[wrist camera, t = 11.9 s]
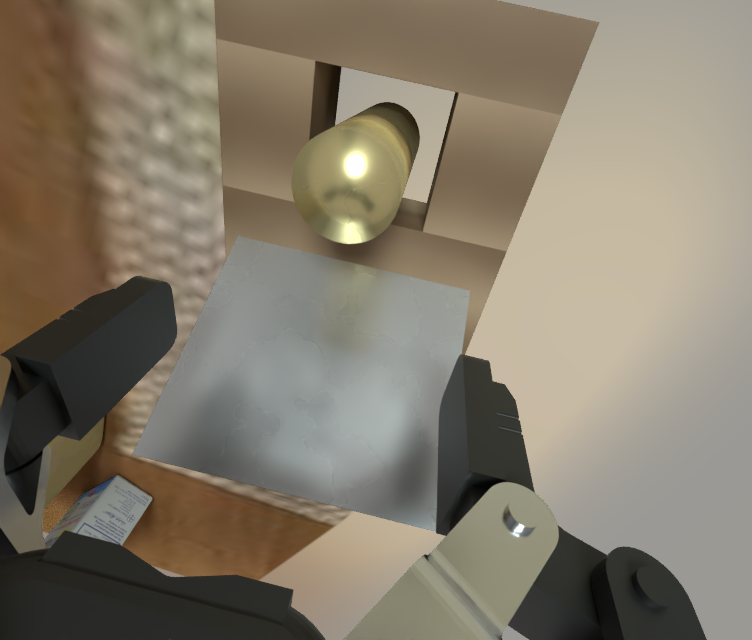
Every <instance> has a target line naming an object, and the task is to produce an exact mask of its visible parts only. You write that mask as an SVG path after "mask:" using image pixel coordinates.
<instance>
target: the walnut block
mask: <svg viewBox="0 0 752 640" xmlns="http://www.w3.org/2000/svg"><path fill="white" fill-rule="evenodd" d="M215 23H216V45H217V68H218V90H219V113H220V135H221V158H222V180H223V203H224V226H225V248H226V260H227V258H228V256H229V254H230V252H231V250H232V247H233V245H234V243H235V241H236V239H237V237H238V236H241V237H245V238H249V239H253V240H258V241H262V242H266V243H270V244H275V245H279V246H283V247H287V248H291V249H296V250H300V251H304V252H308V253H313V254H317V255H321V256H325V257H330V258H334V259H338V260H342V261H347V262H351V263H355V264H359V265H364V266H368V267H372V268H376V269H380V270H385V271H389V272H393V273H397V274H402V275H406V276H410V277H414V278H419V279H423V280H427V281H431V282H436V283H440V284H444V285H448V286H453V287H457V288H461V289H465V290H469V291H470V297H469V304H468V312H467V319H466V326H465V334H464V341H463V348H462V355H465V352H466V350H467V348H468V345H469V343H470V340H471V338H472V336H473V333H474V331H475V328H476V326H477V323H478V321H479V318H480V316H481V313H482V311H483V308H484V306H485V303H486V301H487V299H488V296H489V293H490V291H491V289H492V286H493V284H494V281H495V279H496V276H497V274H498V271H499V268H500V266H501V264H502V261H503V259H504V257H505V254H506V252H507V249H508V246H509V244H510V242H511V239H512V237H513V234H514V232H515V229H516V227H517V224H518V222H519V220H520V217H521V215H522V212H523V210H524V207H525V205H526V202H527V200H528V197H529V195H530V192H531V190H532V187H533V185H534V183H535V180H536V178H537V175H538V173H539V170H540V168H541V165H542V163H543V160H544V158H545V155H546V153H547V150H548V148H549V146H550V143H551V141H552V138H553V136H554V133H555V130H556V128H557V126H558V123H559V121H560V118H561V116H562V113H563V111H564V108H565V106H566V103H567V101H568V98H569V96H570V94H571V91H572V88H573V86H574V84H575V81H576V79H577V76H578V74H579V71H580V69H581V67H582V64H583V61H584V59H585V57H586V54H587V52H588V49H589V47H590V44H591V42H592V39H593V37H594V34H595V32H596V29H597V27H598V25H599V22H595V21H590V20H586V19H581V18H576V17H572V16H567V15H562V14H557V13H553V12H548V11H543V10H539V9H535V8H529V7H525V6H520V5H515V4H511V3H507V2H502V1H497V0H215ZM341 66H342V67H346V68H351V69H355V70H360V71H364V72H369V73H373V74H378V75H382V76H387V77H391V78H396V79H401V80H405V81H409V82H414V83H419V84H423V85H427V86H432V87H436V88H441V89H446V90H450V91H454V92H455V96H454V100H453V104H452V108H451V112H450V116H449V120H448V123H447V127H446V131H445V135H444V139H443V143H442V147H441V151H440V154H439V158H438V162H437V166H436V170H435V174H434V178H433V182H432V186H431V189H430V193H429V197H428V201H427V203H424V202H419V201H415V200H410V199H406V198H402V199H401V202H400V205H399V208H398V211H397V213H396V215H395V218H394V219H393V221H392V222H391V224H390V225H389V226H388V227H387V229H386V230H384V231H383V232H382V233H381V234H380V235H378V236H377V237H375V238H373V239H371V240H368V241H366V242H362V243H356V244H344V243H339V242H335V241H332V240H329V239H327V238H325V237H323V236H322V235H320V234H318V233H317V232H316V231H314V230H313V229H312V228H311V227H310V226H309V225H308V224H307V223H306V222H305V220H304V219H303V218H302V216H301V215H300V213H299V211H298V209H297V207H296V204H295V202H294V199H293V195H292V188H291V175H292V169H293V165H294V162H295V160H296V157H297V156H298V154H299V152H300V150H301V149H302V148H303V147H304V145H305V144H306V143H307V142H309V141H310V140H311V139H312V138H314V137H315V136H317V135H319V134H321V133H322V132H324V131H326V130H328V129H330V128H332V127H334V126H335V120H336V111H337V101H338V92H339V83H340V74H341Z"/></svg>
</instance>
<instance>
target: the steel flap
mask: <svg viewBox="0 0 752 640" xmlns="http://www.w3.org/2000/svg"><path fill="white" fill-rule="evenodd" d="M469 297H470V291H469V290H465V289H461V288H457V287H453V286H448V285H444V284H440V283H436V282H431V281H427V280H423V279H419V278H414V277H410V276H406V275H402V274H397V273H393V272H389V271H385V270H380V269H376V268H372V267H368V266H364V265H359V264H355V263H351V262H347V261H342V260H338V259H334V258H330V257H325V256H321V255H317V254H313V253H308V252H304V251H300V250H296V249H291V248H287V247H283V246H279V245H275V244H270V243H266V242H262V241H258V240H253V239H249V238H245V237H241V236H238V237H237V239H236V241H235V243H234V245H233V247H232V250H231V252H230V254H229V256H228V258H227V260H226V262H225V264H224V266H223V268H222V270H221V272H220V274H219V276H218V278H217V281H216V283H215V285H214V287H213V289H212V291H211V293H210V295H209V297H208V299H207V301H206V303H205V305H204V307H203V309H202V311H201V314H200V316H199V318H198V320H197V322H196V324H195V326H194V328H193V330H192V332H191V334H190V336H189V338H188V340H187V342H186V345H185V347H184V349H183V351H182V353H181V355H180V357H179V359H178V361H177V363H176V365H175V367H174V369H173V371H172V373H171V376H170V378H169V380H168V382H167V384H166V386H165V388H164V390H163V392H162V394H161V396H160V398H159V400H158V402H157V404H156V407H155V409H154V411H153V413H152V415H151V417H150V419H149V421H148V423H147V425H146V427H145V429H144V431H143V433H142V435H141V438H140V440H139V442H138V444H137V446H136V448H135V450H134V452H133V454H132V455H135V456H139V457H143V458H147V459H151V460H155V461H159V462H163V463H167V464H171V465H175V466H179V467H183V468H187V469H191V470H195V471H198V472H202V473H206V474H210V475H214V476H218V477H222V478H226V479H230V480H234V481H238V482H242V483H246V484H250V485H254V486H258V487H262V488H265V489H269V490H273V491H277V492H281V493H285V494H289V495H293V496H297V497H301V498H305V499H309V500H313V501H317V502H321V503H325V504H328V505H332V506H336V507H340V508H344V509H348V510H352V511H356V512H360V513H364V514H368V515H372V516H376V517H380V518H384V519H388V520H392V521H396V522H399V523H403V524H408V525H411V526H415V527H419V528H423V529H427V530H431V531H435V532H436V517H437V474H438V431H439V411H440V405H441V401H442V397H443V394H444V392H445V389H446V387H447V384H448V381H449V379H450V376H451V374H452V371H453V369H454V366H455V364H456V361H457V359H458V357H459V355H460V354H462V348H463V341H464V334H465V326H466V319H467V312H468V304H469Z"/></svg>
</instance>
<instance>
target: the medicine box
mask: <svg viewBox="0 0 752 640" xmlns="http://www.w3.org/2000/svg"><path fill="white" fill-rule="evenodd" d="M152 499H153V498H152V497H151V496H150V495H149V494H147V493H146V492H145V491H143V490H142V489H140V488H139V487H137V486H136V485H134V484H133V483H131V482H129V481H128V480H126V479H125V478H123V477H122V476H121V475H116V476H115V477H113V478H111V479H109V480H107V481H105V482H104V483H102V484H100V485H98V486H97V487H95V488H93V489H91V490H89V491H87V492H86V493H84V494H82V495H81V496H80V498H79V499H78V500H77V501H76V502H75V503H74V505H73V506H72V507H71V508H70V509H69V510H68V512H67V513H66V514H65V515H64V516H63V518H62V519H61V520H60V521H59V522H58V524H57V525H56V526H55V527H54V528H53V530H52V531H51V532H50V533H49V534H48V536H47V537H46V538H45V539H44V541H45V546H46V548H50V547H51V546H52V545H53V544H54V543H55V541H56V540H57V539H58V538H59V537H60V535H61V534H62V533H63V532H64V530H66V531H70V532H74V533H77V534H81V535H85V536H89V537H93V538H97V539H100V540H104V541H108V542H112V543H116V544H120V545H121V546H122V545H123V543H124V542H125V540H126V539H127V537H128V536H129V534H130V533H131V531H132V530H133V528H134V527H135V525H136V524H137V522H138V521H139V519H140V518H141V516H142V515H143V513H144V512H145V510H146V509H147V507H148V505H149V504H150V502H151V501H152Z"/></svg>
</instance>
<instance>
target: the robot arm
mask: <svg viewBox="0 0 752 640" xmlns="http://www.w3.org/2000/svg"><path fill="white" fill-rule="evenodd" d="M176 335H177V324H176V317H175V309H174V302H173V295H172V289H171V286H170V285H169V284H168V283H167V282H163V281H159V280H155V279H150V278H146V277H142V276H135V277H133V278H131V279H130V280H128V281H127V282H125V283H124V284H122V285H121V286H119V287H118V288H116V289H112V290H109V291H106V292H103V293H100V294H97V295H94V296H91V297H90V298H88V299H87V300H85V301H84V302H82V303H81V304H79V305H77V306H76V307H74V310H70V311H68V312H66V313H65V314H63V315H62V316H60V319H59V320H57V319H56V320H54V321H52V322H51V323H49V324H48V325H46V326H45V327H43V328H41V329H40V330H38V331H37V332H35V333H34V334H32V335H31V336H29V337H27V338H26V339H24V340H23V341H21V342H20V343H18V344H16V345H15V346H13V347H12V348H10V349H9V350H7V351H6V352H4V353H2V354H1V355H0V640H325V638H324V637H323V635H322V634H321V633H320V632H319V631H318V629H317V628H316V627H315V626H314V625H313V624H312V623H311V622H310V621H309V620H308V619H307V618H306V617H305V616H304V615H303V614H301V613H300V612H298V611H297V610H295V609H294V608H292V607H291V603H292V596H293V590H292V589H288V588H284V587H281V586H276V585H273V584H269V583H265V582H261V581H258V580H254V579H250V578H246V577H242V576H238V575H223V576H195V577H169V576H166V575H164V574H162V573H161V572H159V571H158V570H156V569H155V568H154V567H152V566H151V565H149V564H148V563H146V562H145V561H143V560H142V559H141V558H139V557H138V556H136V555H135V554H133V553H132V552H130V551H129V550H127V549H126V548H124V547H123V546H121V545H120V544H116V543H112V542H108V541H104V540H100V539H97V538H93V537H89V536H85V535H81V534H77V533H74V532H70V531H66V530H64V532H63V533H62V534H61V535H60V537H59V538H58V539H57V540H56V541H55V543H54V544H53V545H52V546H51V547H50V548H46V546H45V541H44V537H43V528H42V523H43V514H44V506H45V498H46V490H47V482H48V474H49V466H50V458H51V449H50V446H49V443H50V442H51V441H52V440H53V439H54V438H55V437H57V436H62V437H66V438H70V439H74V440H78V441H80V440H81V439H82V438H83V437H84V436H85V435H86V434H87V433H88V432H89V431H90V430H91V429H92V428H93V427H94V426H95V425H96V424H97V423H98V422H99V421H100V420H101V419H102V418H103V417H104V416H105V415H106V414H107V413H108V412H109V411H110V410H111V409H112V408H113V407H114V406H115V405H116V404H117V403H118V402H119V401H120V400H121V399H122V398H123V397H124V396H125V395H126V394H127V393H128V392H129V391H130V390H131V389H132V388H133V387H134V386H135V385H136V384H137V383H138V382H139V381H140V380H141V378H142V377H143V376H144V375H145V374H146V373H147V372H148V371H149V370H150V369H151V368H152V367H153V366H154V365H155V364H156V363H157V362H158V361H159V360H160V359H161V358H162V357H163V356H164V355H165V354H166V353H167V352H168V351H169V350H170V349H171V347H172V346H173V344H174V342H175V339H176ZM518 418H519V416H518V411H517V406H516V401H515V399H514V398H513V396H512V395H511V393H510V392H509V390H508V389H507V387H506V386H505V385H504V384H500V383H497V382H493V381H492V375H491V369H490V363H489V361H487V360H483V359H479V358H475V357H470V356H467V355H462V354H460V355H459V357H458V359H457V361H456V364H455V366H454V369H453V371H452V374H451V376H450V379H449V381H448V384H447V387H446V389H445V392H444V394H443V397H442V401H441V405H440V411H439V431H438V474H437V517H436V533H437V534H441V535H445V536H446V537H445V538H444V539H443V540H442V542H440V544H439V545H438V546H437V547H436V548H435V549H434V550H433V551H432V552H431V553H430V554H429V555H424V556H422V557H421V558H420V559H418V560H417V561H416V562H415V563H414V564H413V565H412V566H411V567H410V568H409V570H408V571H407V572H406V573H405V574H404V575H403V576H402V577H401V578H400V579H399V580H398V581H397V582H396V583H395V585H394V586H393V587H392V588H391V589H390V590H389V591H388V592H387V593H386V594H385V595H384V596H383V597H382V598H381V600H380V601H379V602H378V603H377V604H376V605H375V606H374V607H373V608H372V609H371V610H370V612H368V614H367V615H366V616H365V617H364V618H363V619H362V620H361V621H360V622H359V623H358V624H357V625H356V626H355V627H354V629H353V630H352V631H351V632H350V633H349V634H348V635H347V636H346V637H345V638H344V639H343V640H502V638H501V637H502V634H503V632H504V630H505V629H506V627H507V625H508V626H510V627H511V628H513V629H514V630H516V631H517V632H519V633H520V634H522V635H523V636H525V637H526V638H528V639H529V640H707V639H706V637H705V634H704V632H703V630H702V627H701V625H700V622H699V620H698V617H697V615H696V613H695V610H694V608H693V605H692V603H691V601H690V599H689V597H688V595H687V593H686V592H685V590H684V588H683V587H682V585H681V584H680V583H679V581H678V580H677V579H676V578H675V577H674V575H673V574H672V573H671V572H670V571H669V570H668V569H667V568H666V567H665V566H664V565H663V564H661V563H660V562H659V561H658V560H656V559H655V558H653V557H652V556H650V555H648V554H647V553H644V552H643V551H641V550H638V549H635V548H631V547H619V548H616V549H614V550H613V551H611V552H610V553H609V554H608V555H606V554H604V553H602V552H600V551H599V550H597V549H595V548H593V547H592V546H590V545H588V544H586V543H584V542H583V541H581V540H579V539H577V538H576V537H574V536H572V535H571V534H569V533H567V532H566V531H564V530H563V529H562V528H561V527H559V526H558V525H557V522H556V519H555V517H554V515H553V513H552V512H551V510H550V509H549V507H548V505H547V504H546V503H545V502H544V501H543V500H542V499H541V498H540V497H539V496H538V495H537V494H535V492H534V488H533V483H532V478H531V473H530V468H529V464H528V459H527V454H526V449H525V445H524V439H523V435H521V432H522V430H521V425H520V421H519V420H518Z"/></svg>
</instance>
